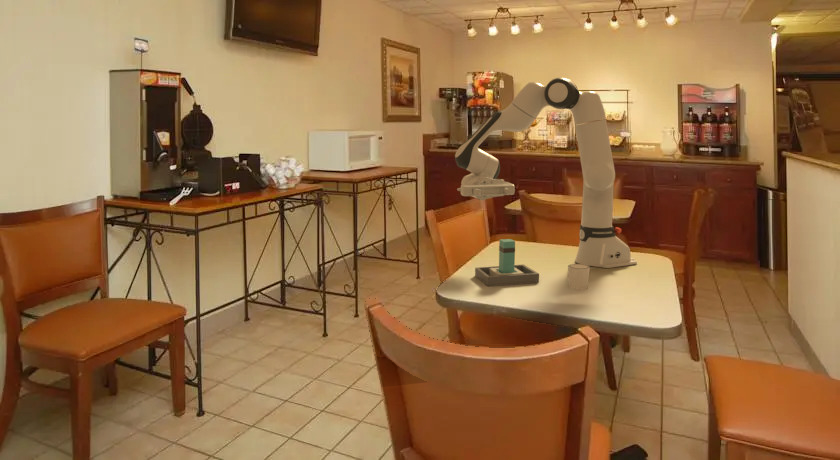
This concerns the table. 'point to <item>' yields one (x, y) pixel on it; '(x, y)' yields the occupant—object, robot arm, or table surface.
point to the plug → (506, 256)
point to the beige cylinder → (578, 276)
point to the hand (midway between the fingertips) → (494, 192)
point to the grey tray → (506, 275)
